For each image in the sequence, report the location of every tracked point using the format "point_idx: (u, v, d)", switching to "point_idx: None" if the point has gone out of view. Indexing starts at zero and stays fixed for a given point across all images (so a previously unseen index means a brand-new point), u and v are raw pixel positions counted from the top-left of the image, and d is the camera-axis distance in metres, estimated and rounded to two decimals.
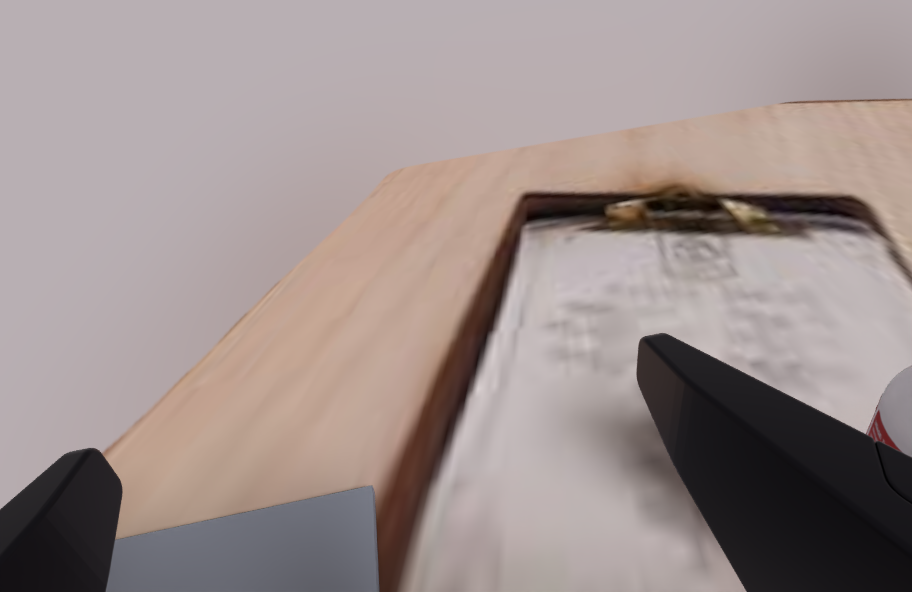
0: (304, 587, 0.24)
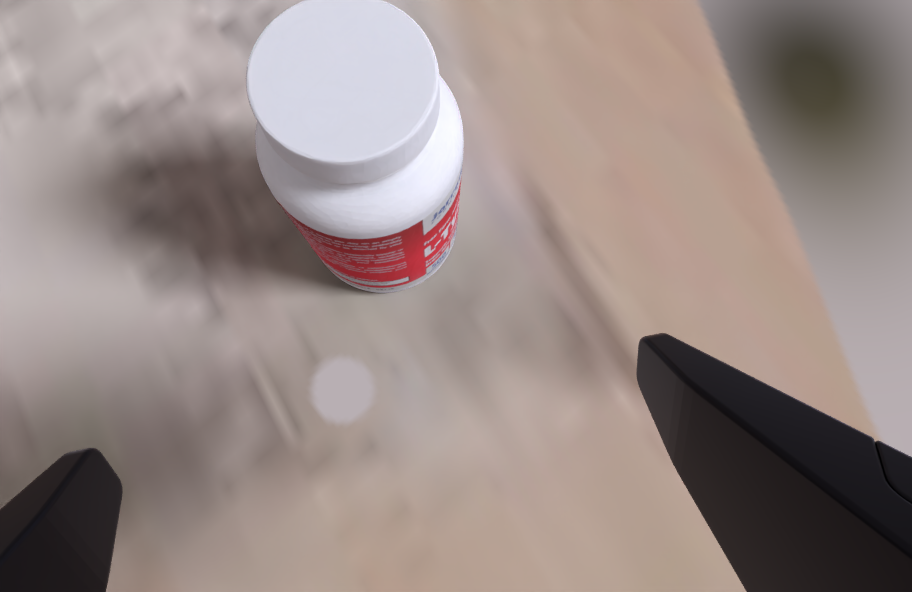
0: None
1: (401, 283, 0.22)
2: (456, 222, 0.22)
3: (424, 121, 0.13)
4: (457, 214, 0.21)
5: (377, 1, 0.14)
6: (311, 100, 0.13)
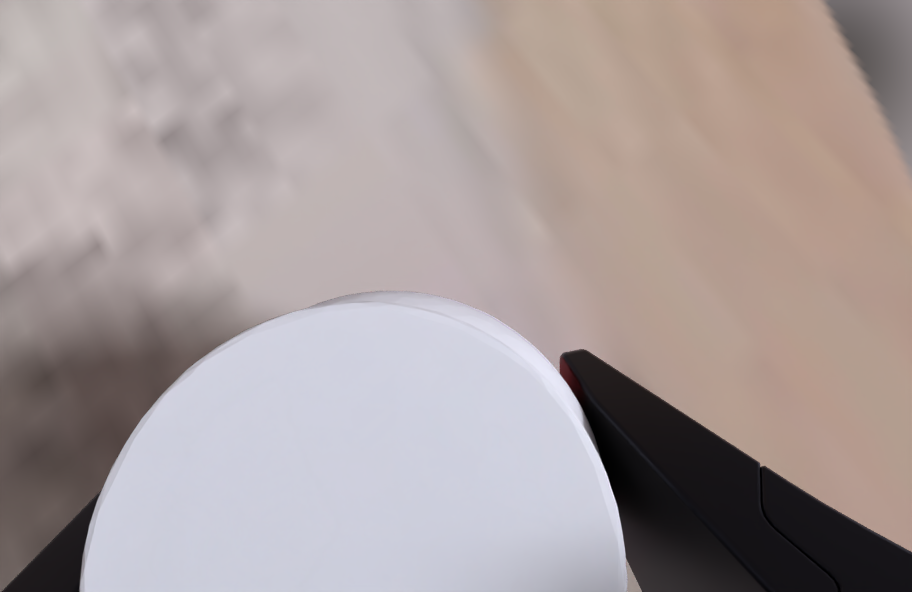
0: None
1: None
2: None
3: None
4: None
5: (449, 329, 0.05)
6: None
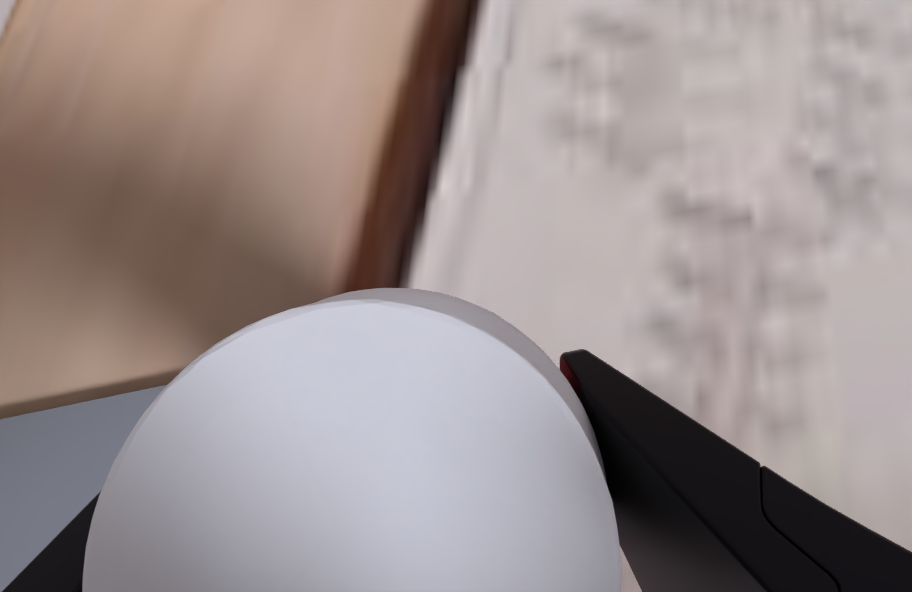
0: None
1: None
2: None
3: None
4: None
5: (446, 324, 0.05)
6: None
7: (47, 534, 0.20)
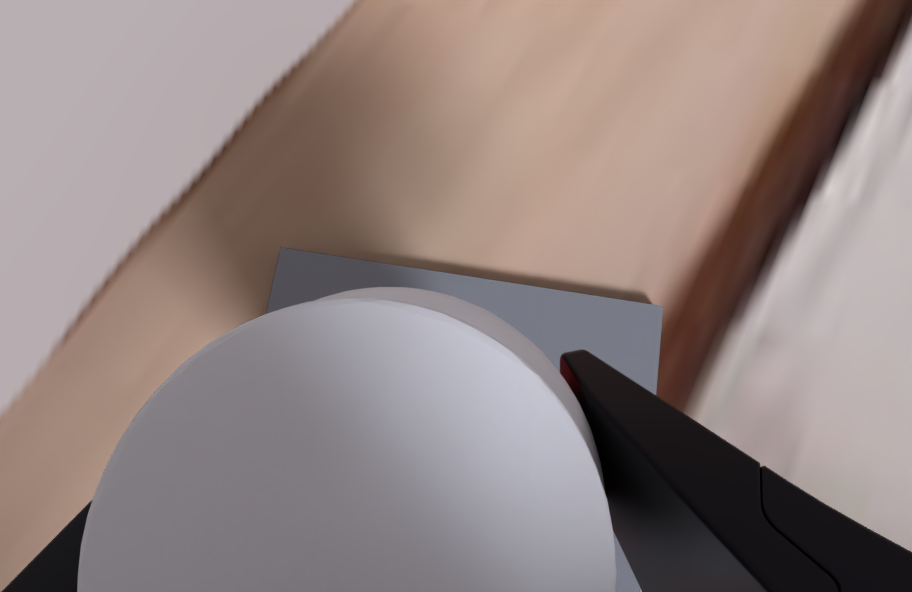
0: None
1: None
2: None
3: None
4: None
5: (441, 323, 0.05)
6: None
7: None
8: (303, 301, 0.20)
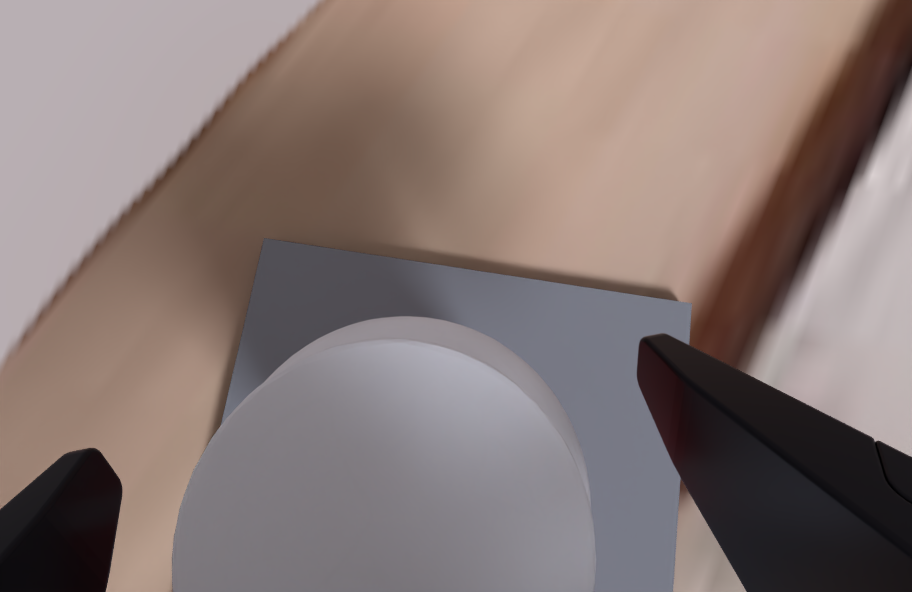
0: (584, 430, 0.17)
1: None
2: None
3: None
4: None
5: (457, 361, 0.07)
6: None
7: None
8: (289, 298, 0.18)
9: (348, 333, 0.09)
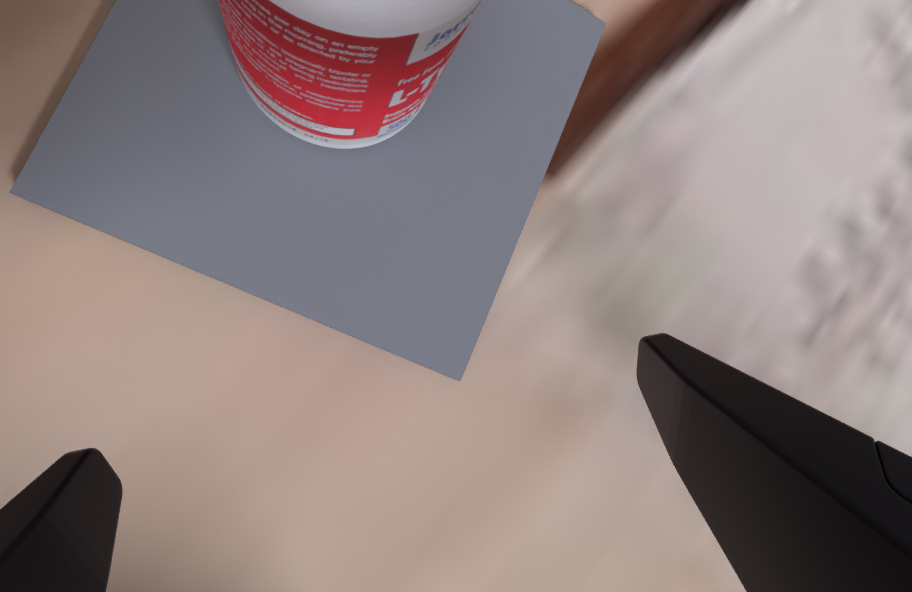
0: (487, 88, 0.19)
1: (341, 136, 0.16)
2: None
3: None
4: None
5: None
6: None
7: None
8: None
9: None
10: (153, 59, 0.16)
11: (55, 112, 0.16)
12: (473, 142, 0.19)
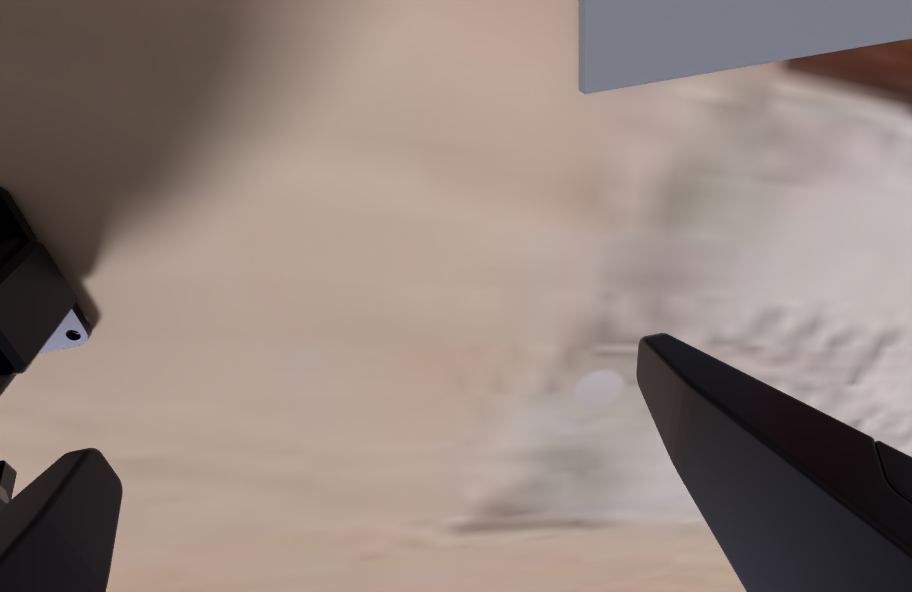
0: None
1: None
2: None
3: None
4: None
5: None
6: None
7: None
8: None
9: None
10: None
11: None
12: None
